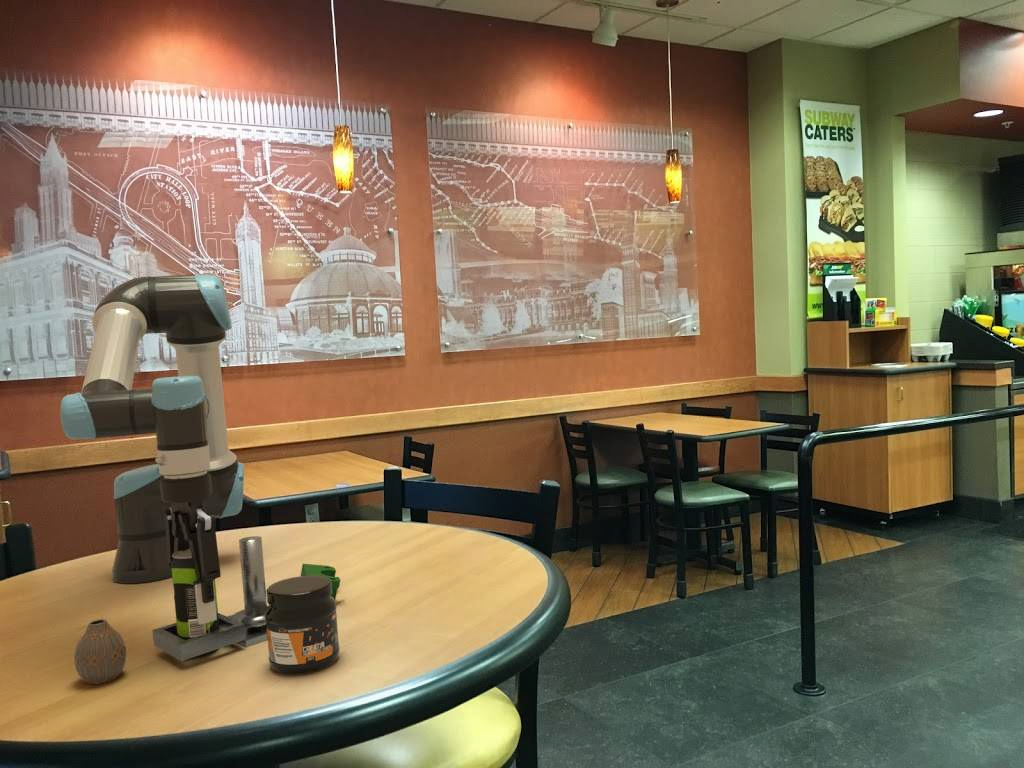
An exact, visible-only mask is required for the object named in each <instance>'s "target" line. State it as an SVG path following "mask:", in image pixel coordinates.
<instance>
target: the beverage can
mask: <svg viewBox="0 0 1024 768" xmlns="http://www.w3.org/2000/svg"><path fill="white" fill-rule="evenodd" d="M172 557H173V560H172V562H171V567H172V577H171V578H172V587H173V588H172V589H173V598H174V611H175V623H177V634H178V637H179V638H181V639H183V640H188V639H191V638H194V637H197V636H200V635H204V634H207V633H210V632H213V631H216V630H219V619H218V613H219V611H218V610H219V609H218V598H217V585H216V579H215V580H213V581H214V593H215V604H216V616H217V620H214V621H211V622H208V623H204V624H201V625H200V624H198V617H197V606H196V594H195V585H194V584H193V581H196V580H197V577H196V572H195V568H194V563H193V559H192V554H191V550H190V548H189V549H187V550H185V551H177V552H175V553H173V555H172Z"/></svg>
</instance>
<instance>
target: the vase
mask: <svg viewBox="0 0 1024 768" xmlns="http://www.w3.org/2000/svg"><path fill="white" fill-rule="evenodd" d="M73 655H74V656H73V657H74V659H73V661H74V667H75V671H76V673H77V675H78V676H79V678H80V679H81V680H83V681H84V682H85V683H87V684H89V683H90V684H89V685H93V684H96V685H98V684H97V683H103V684H105V683H104V682H107V683H109V682H112V681H114V680H115V679H116V678H118V676H119V675H120V674H121V673H122V671H123V670H124V668H125V665H126V660H127V647H126V644H125V641H124V639H123V637H122V636H121V634H120V633H119V632H118V631H117V630H116V629H115V628H114V627H112V626H111V625H110V624H109V623H108V621H107V620H106V619H104V618H100V619H93V620H91V621H90V622H88V624H87V626H86V629H85V631H84V633H83V634H82V636H81V637H80V639H78V642H77V644H76V646H75V650H74V654H73ZM113 679H114V680H113ZM111 680H112V681H111ZM108 681H109V682H108Z"/></svg>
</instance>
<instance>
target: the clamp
mask: <svg viewBox="0 0 1024 768" xmlns="http://www.w3.org/2000/svg"><path fill="white" fill-rule="evenodd" d="M336 573H337V571H336V568H335V567H334V566H330V565H323V564H312V563H311V564H309V563H302V565H301V572H300V576H322V577H326V578H328V579H330V580H331V582H332V595H331V596H332V597H333V598H334V599H335V601H337V592H338V589H340V585H341V578H340V577H339V576H336Z"/></svg>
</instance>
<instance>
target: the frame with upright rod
mask: <svg viewBox="0 0 1024 768" xmlns="http://www.w3.org/2000/svg"><path fill="white" fill-rule="evenodd" d="M238 542H239V543H238V544H239V555H240V566H241V567H240V569H241V579H242V580H241V583H242V593H243V594H242V595H243V605H244V609H242V610H239V611H237V612H235V613H234V614H230V615H227V616H226V615H224V614H222V613H220V612H218V619H219V630H216V631H213V632H210V633H207V634H204V635H200V636H197V637H194V638H191V639H188V640H183V639H181V638H179V637H178V634H177V623H176V622H174V623H171V624H167V625H164V626H162V627H158V628H154V629H152V631H151V632H152V642H153V646H154V647H156V648H158V649H159V650H161V651H164V653H167V654H169V655H170V656H173V657H174V658H176V659H178V660H180V661H181V662H182V661H185V660H188V659H192V658H194V657H197V656H201V655H204V654H207V653H210V652H213V651H215V650H219V649H221V648H224V647H227V646H230V645H233V644H235V643H238V644H240V645H242V646H244V647H245V648H248V647H250V646H253V645H256V644H258V643H261V642H265V641H268V638H267V626H266V619H265V610H266V608H267V607H268V603H267V593H266V591H267V589H266V577H265V567H264V564H265V563H264V552H263V551H264V550H263V539H262V537H261V536H258V535H257V536H256V535H255V536H245V537H242V538H240V539H239V540H238Z"/></svg>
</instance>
